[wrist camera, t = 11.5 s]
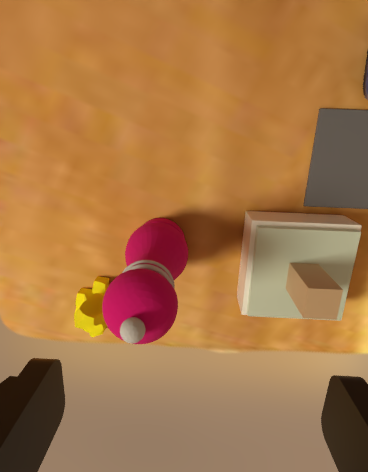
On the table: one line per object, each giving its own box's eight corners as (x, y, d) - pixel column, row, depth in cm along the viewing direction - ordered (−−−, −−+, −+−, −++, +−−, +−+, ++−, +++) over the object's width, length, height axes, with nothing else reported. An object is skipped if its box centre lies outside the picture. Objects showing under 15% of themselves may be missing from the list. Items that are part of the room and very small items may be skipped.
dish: (245, 210, 38) (252, 220, 34) (343, 215, 38) (361, 225, 34) (236, 296, 42) (241, 314, 38) (325, 300, 42) (340, 319, 37)
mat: (319, 108, 34) (320, 108, 34) (419, 112, 34) (421, 112, 34) (303, 205, 38) (304, 206, 37) (394, 209, 37) (396, 210, 37)
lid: (256, 225, 34) (271, 247, 27) (356, 229, 34) (396, 252, 27) (246, 311, 37) (258, 349, 31) (337, 315, 37) (368, 355, 31)
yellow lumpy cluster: (80, 323, 44) (57, 360, 37) (82, 273, 42) (58, 303, 34) (120, 329, 44) (105, 367, 37) (125, 279, 42) (110, 310, 34)
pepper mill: (200, 242, 40) (205, 340, 21) (161, 276, 41) (132, 397, 22) (160, 202, 38) (127, 269, 19) (121, 239, 40) (55, 335, 21)
